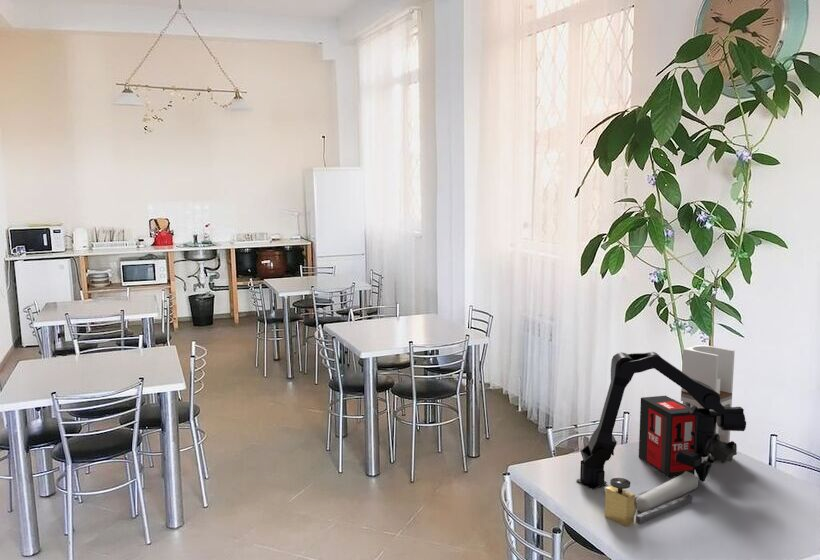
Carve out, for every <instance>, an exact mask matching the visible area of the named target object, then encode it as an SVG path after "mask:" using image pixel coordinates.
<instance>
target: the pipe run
mask: <svg viewBox="0 0 820 560" xmlns="http://www.w3.org/2000/svg"><path fill="white" fill-rule="evenodd" d="M630 487H631V481H630V480H629V479H627V478H622V477H614V478H611V479H610V486H608V487H605V497H604V498H605V503H604V517H605V516H606V517H605V518H607V519H609V520H612V521H613V522H616V523H618V524H619V525H620V526H623V527H629V526H632V525H634V523H636V524H638V525H642V524H644V523H647V522H649V521H652V520H654V519H656V518H657V519H658V518H659V517H661V516H664V515H666V514H669V513H671V512H674V511H676V510H678V509H681V508H683V507H686V506H688V505H690V504H692V503H693V495H690V494H687V495H686V494H685V495H683V496H682V497H681V496H680V497H678V498H676V499H675V500H673V501H671V502H669V503H666V504H664V505H661V506H659V507H656V508H654V509H651V510H648V511H646V512H643V513H642V512H640V513H639V514H637V515H636V513H637V508H636V504H635V501H636V499H637V498H638V497H639V496H640V495H642V494H644V493H646V492H648V491H650V490H652V489H654V488H655V487H654V488H651V489H649V490H646V491H643V492H640V493H637V494H634V493H632V492H629V491H628V490H626V489H628V488H630Z"/></svg>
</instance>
